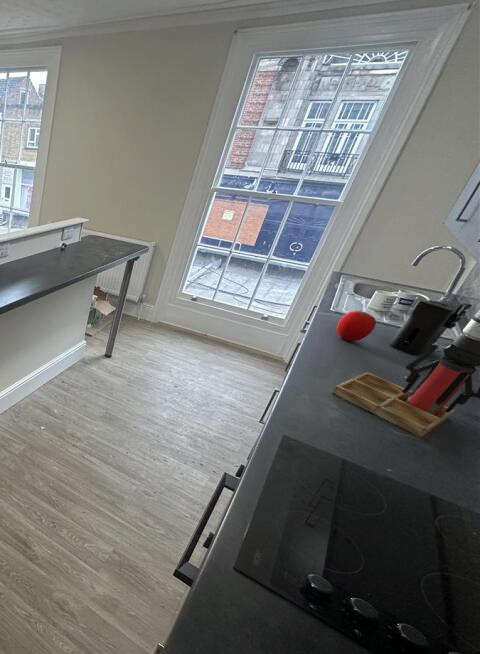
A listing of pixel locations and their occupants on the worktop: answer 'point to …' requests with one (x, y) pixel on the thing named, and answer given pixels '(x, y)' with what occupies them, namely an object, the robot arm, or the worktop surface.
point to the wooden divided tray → (390, 403)
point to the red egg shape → (355, 325)
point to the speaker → (439, 386)
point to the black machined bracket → (427, 325)
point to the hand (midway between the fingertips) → (425, 401)
